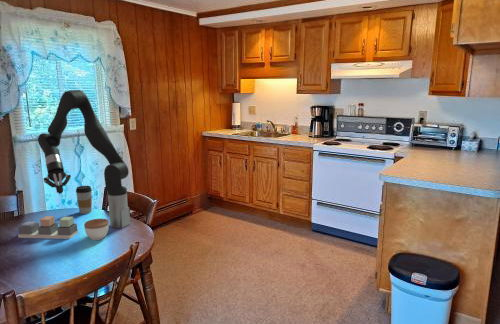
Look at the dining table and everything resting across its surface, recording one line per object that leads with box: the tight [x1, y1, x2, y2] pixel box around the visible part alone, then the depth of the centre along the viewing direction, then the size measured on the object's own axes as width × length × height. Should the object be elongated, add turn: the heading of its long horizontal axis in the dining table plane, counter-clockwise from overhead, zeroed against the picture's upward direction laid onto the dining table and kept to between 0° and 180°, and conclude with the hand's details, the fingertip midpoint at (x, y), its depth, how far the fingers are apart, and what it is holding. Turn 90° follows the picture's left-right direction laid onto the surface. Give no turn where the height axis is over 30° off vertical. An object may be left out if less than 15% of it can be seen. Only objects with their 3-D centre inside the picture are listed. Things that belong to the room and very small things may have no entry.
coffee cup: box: [75, 185, 93, 215], centre depth 204 cm, size 8×8×15 cm
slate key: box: [20, 221, 37, 227], centre depth 172 cm, size 4×4×4 cm
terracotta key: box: [39, 215, 56, 227], centre depth 171 cm, size 4×4×4 cm
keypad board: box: [17, 222, 79, 240], centre depth 172 cm, size 25×8×5 cm, turn 88°
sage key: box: [59, 216, 75, 227], centre depth 171 cm, size 4×4×4 cm
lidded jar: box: [84, 218, 110, 241], centre depth 169 cm, size 11×11×9 cm
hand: (60, 192), depth 178 cm, fingers closed
